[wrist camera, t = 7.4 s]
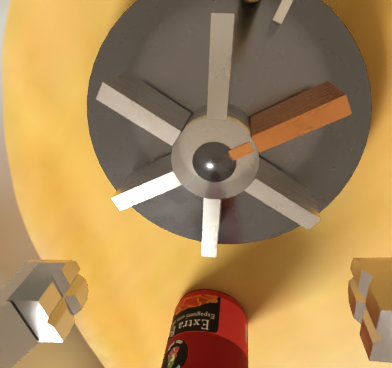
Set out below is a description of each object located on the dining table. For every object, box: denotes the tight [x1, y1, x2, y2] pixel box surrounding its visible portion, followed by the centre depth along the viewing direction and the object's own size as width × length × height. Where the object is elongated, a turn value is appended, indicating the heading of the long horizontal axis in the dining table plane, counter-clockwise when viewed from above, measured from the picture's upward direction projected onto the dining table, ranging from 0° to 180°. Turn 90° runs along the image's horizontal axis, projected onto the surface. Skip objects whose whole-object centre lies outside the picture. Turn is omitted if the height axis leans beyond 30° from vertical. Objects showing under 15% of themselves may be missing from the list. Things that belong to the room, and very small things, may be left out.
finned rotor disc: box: [96, 13, 352, 258], centre depth 17 cm, size 14×13×4 cm
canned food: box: [161, 290, 248, 368], centre depth 26 cm, size 8×8×11 cm
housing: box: [87, 0, 372, 244], centre depth 19 cm, size 18×18×4 cm
